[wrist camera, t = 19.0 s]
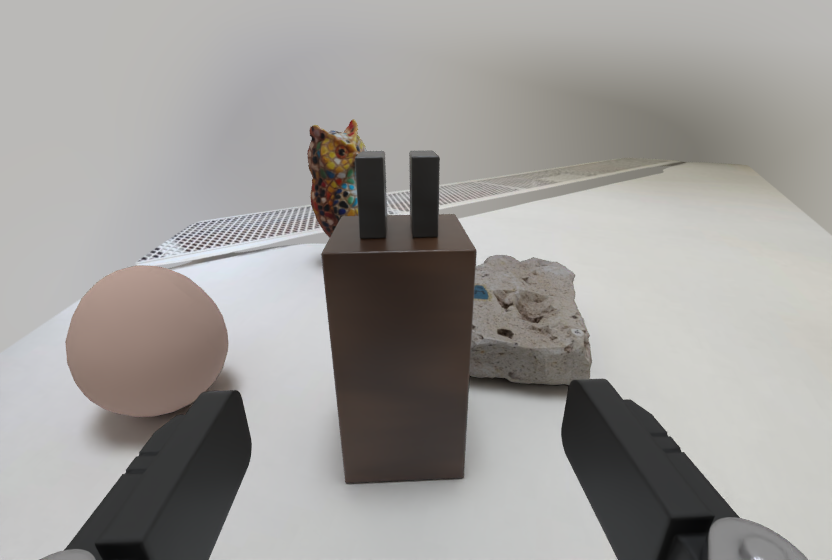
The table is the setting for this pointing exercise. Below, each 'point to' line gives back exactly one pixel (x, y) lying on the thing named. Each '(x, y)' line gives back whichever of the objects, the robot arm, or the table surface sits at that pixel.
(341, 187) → the figurine
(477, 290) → the stone
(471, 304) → the knife block
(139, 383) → the egg
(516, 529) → the table surface
